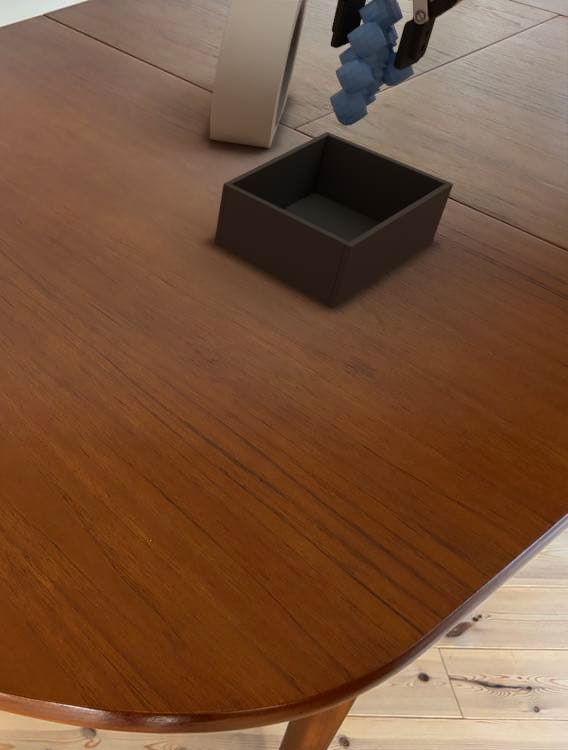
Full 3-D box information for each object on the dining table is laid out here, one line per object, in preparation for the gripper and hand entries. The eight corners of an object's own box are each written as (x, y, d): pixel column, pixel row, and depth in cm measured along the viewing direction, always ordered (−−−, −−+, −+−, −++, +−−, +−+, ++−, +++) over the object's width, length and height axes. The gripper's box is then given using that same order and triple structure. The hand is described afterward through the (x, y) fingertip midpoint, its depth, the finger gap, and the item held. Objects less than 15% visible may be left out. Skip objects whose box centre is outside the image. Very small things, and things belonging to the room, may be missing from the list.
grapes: (376, 162, 77) (425, 26, 68) (303, 142, 79) (341, 7, 70) (404, 111, 84) (452, -18, 75) (336, 94, 86) (374, -34, 78)
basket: (430, 247, 91) (453, 183, 86) (332, 312, 83) (351, 246, 78) (312, 192, 100) (327, 131, 94) (213, 246, 92) (223, 183, 87)
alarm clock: (264, 164, 104) (297, -7, 91) (203, 155, 106) (227, -14, 93) (289, 93, 119) (321, -64, 105) (235, 86, 121) (259, -70, 107)
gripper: (575, -180, 61) (486, 72, 74) (367, -209, 71) (319, 18, 83) (522, -164, 58) (438, 97, 70) (311, -197, 67) (269, 38, 80)
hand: (374, 52), depth 77 cm, fingers closed on grapes, 5 cm apart
